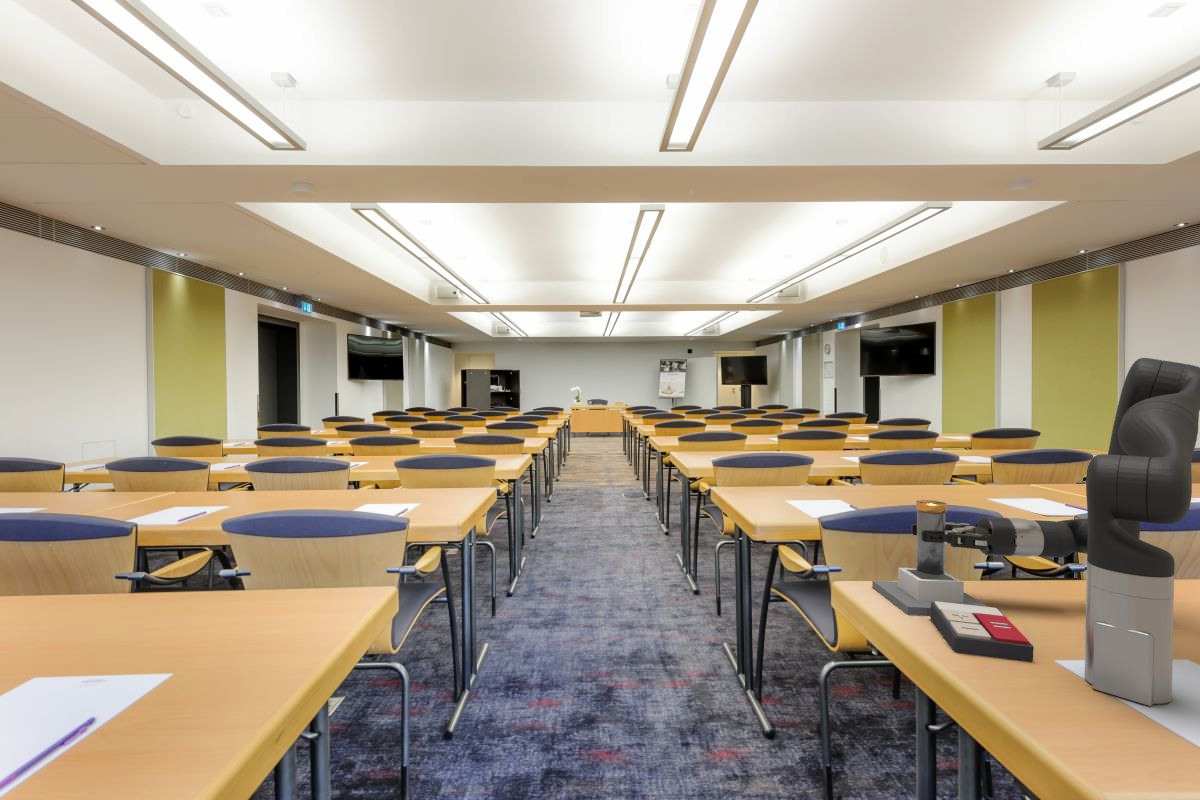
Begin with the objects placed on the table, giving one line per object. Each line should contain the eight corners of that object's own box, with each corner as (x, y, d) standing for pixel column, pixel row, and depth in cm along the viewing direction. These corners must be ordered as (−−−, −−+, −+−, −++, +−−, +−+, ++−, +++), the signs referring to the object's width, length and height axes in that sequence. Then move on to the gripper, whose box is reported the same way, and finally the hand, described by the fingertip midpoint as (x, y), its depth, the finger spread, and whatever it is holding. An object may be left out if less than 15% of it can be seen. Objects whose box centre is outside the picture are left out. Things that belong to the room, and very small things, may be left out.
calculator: (955, 632, 93) (930, 597, 108) (954, 658, 94) (929, 620, 108) (1035, 642, 90) (998, 604, 105) (1033, 669, 91) (997, 627, 105)
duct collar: (994, 618, 109) (995, 589, 109) (907, 614, 110) (908, 585, 110) (947, 590, 125) (948, 564, 125) (872, 587, 126) (872, 562, 126)
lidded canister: (939, 576, 114) (940, 505, 114) (910, 570, 118) (911, 501, 118) (950, 571, 117) (950, 502, 117) (921, 565, 121) (922, 499, 121)
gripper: (991, 511, 122) (904, 507, 125) (1029, 526, 108) (930, 521, 111) (990, 546, 122) (904, 542, 125) (1028, 566, 108) (930, 560, 111)
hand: (917, 532), depth 118 cm, fingers closed on lidded canister, 5 cm apart
